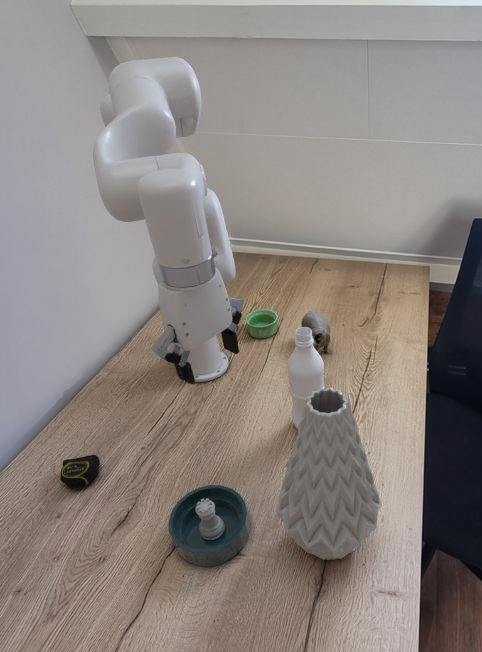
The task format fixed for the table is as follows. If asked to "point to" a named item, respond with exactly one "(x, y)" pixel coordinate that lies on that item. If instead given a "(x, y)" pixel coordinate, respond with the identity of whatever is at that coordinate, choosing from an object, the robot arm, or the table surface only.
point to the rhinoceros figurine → (317, 329)
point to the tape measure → (80, 471)
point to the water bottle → (304, 372)
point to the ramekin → (262, 323)
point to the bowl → (188, 522)
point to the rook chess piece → (209, 520)
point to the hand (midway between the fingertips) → (210, 364)
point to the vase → (328, 481)
